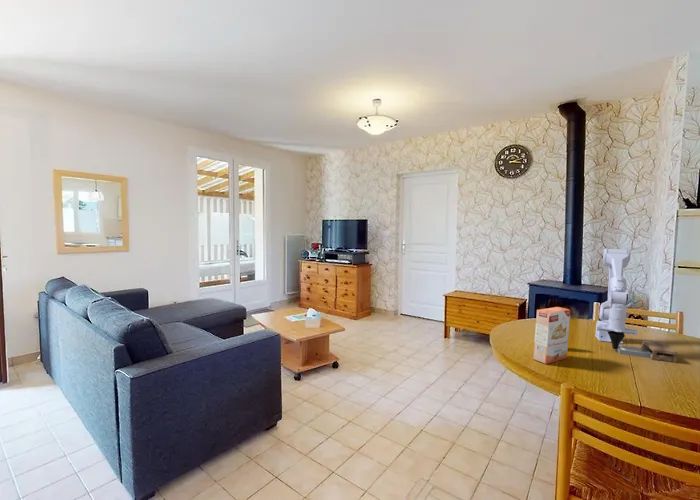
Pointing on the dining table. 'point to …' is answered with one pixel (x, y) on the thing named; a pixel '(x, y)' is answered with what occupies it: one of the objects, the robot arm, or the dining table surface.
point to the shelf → (660, 351)
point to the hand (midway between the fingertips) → (614, 348)
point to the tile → (634, 351)
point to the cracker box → (551, 334)
